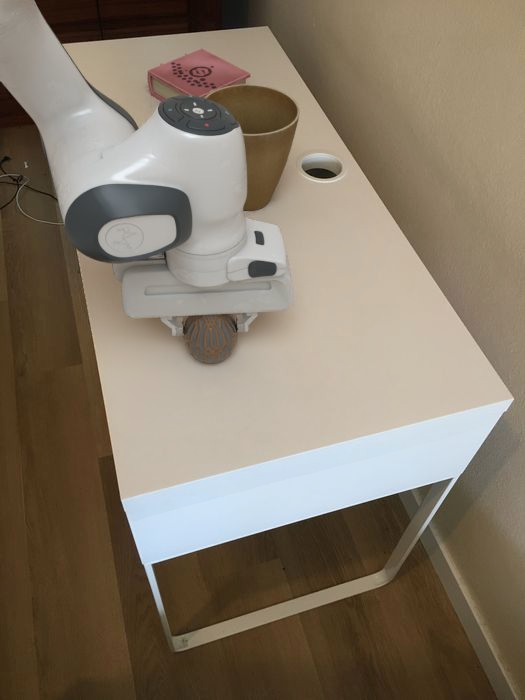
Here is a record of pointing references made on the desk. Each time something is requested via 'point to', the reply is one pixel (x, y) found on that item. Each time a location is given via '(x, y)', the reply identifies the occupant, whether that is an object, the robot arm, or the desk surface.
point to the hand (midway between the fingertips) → (210, 330)
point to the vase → (210, 336)
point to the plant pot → (261, 134)
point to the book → (194, 76)
